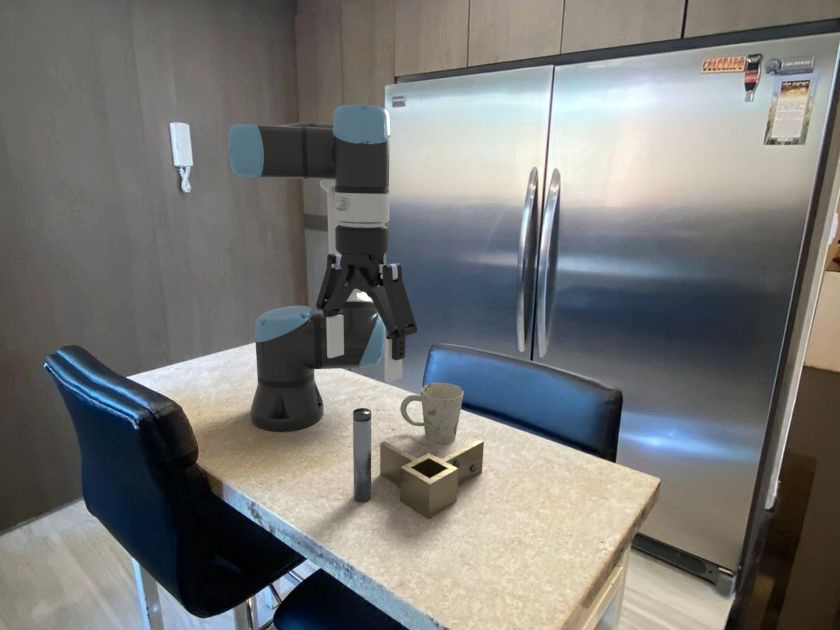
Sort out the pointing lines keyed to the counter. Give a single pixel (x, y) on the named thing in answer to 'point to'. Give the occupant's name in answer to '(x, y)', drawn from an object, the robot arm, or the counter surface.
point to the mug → (437, 411)
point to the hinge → (430, 475)
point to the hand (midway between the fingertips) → (362, 367)
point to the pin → (362, 454)
